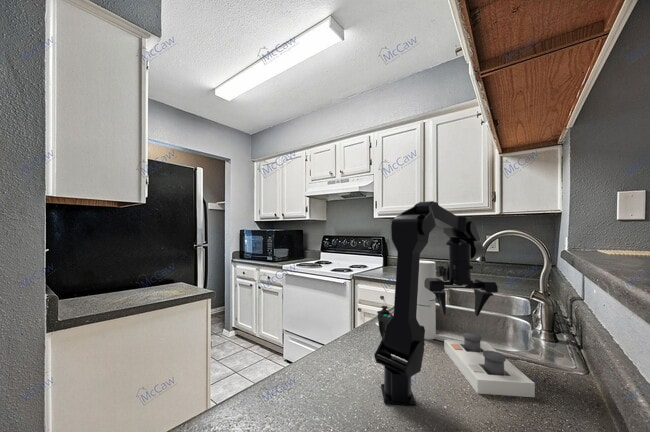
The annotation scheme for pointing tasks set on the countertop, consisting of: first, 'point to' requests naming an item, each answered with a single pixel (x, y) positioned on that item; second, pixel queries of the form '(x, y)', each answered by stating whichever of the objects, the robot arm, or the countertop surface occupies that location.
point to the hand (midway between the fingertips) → (460, 315)
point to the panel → (479, 379)
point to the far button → (472, 342)
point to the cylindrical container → (426, 300)
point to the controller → (383, 319)
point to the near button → (494, 363)
